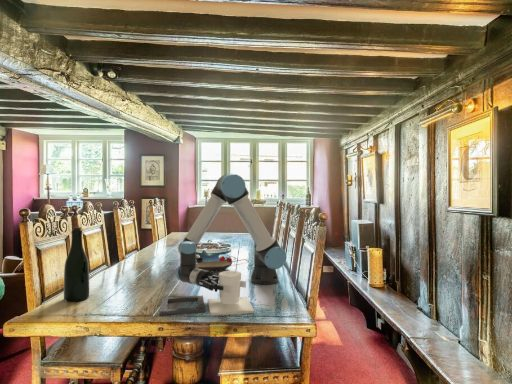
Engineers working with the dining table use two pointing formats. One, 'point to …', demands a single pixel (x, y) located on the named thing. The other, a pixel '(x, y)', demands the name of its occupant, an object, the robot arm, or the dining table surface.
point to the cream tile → (230, 307)
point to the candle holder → (234, 281)
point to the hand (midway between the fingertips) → (237, 286)
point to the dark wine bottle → (76, 270)
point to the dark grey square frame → (182, 310)
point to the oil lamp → (212, 265)
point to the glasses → (228, 259)
